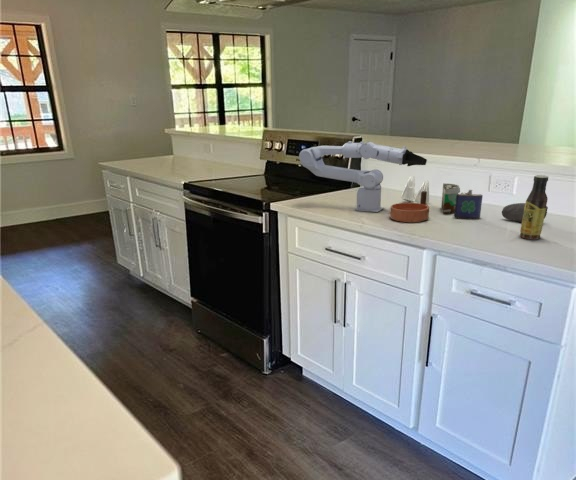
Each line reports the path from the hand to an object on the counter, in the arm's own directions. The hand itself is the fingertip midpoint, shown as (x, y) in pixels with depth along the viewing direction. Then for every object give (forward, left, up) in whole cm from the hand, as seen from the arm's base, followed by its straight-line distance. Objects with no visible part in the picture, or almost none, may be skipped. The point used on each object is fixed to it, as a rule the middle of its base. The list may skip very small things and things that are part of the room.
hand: (424, 161), depth 192 cm
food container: (+10, +7, -20) cm, 24 cm away
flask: (+18, -2, -20) cm, 27 cm away
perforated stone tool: (+37, -1, -20) cm, 42 cm away
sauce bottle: (+41, -22, -20) cm, 50 cm away
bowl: (-2, -10, -20) cm, 22 cm away
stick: (0, +3, -20) cm, 20 cm away
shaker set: (-7, +18, -20) cm, 28 cm away
